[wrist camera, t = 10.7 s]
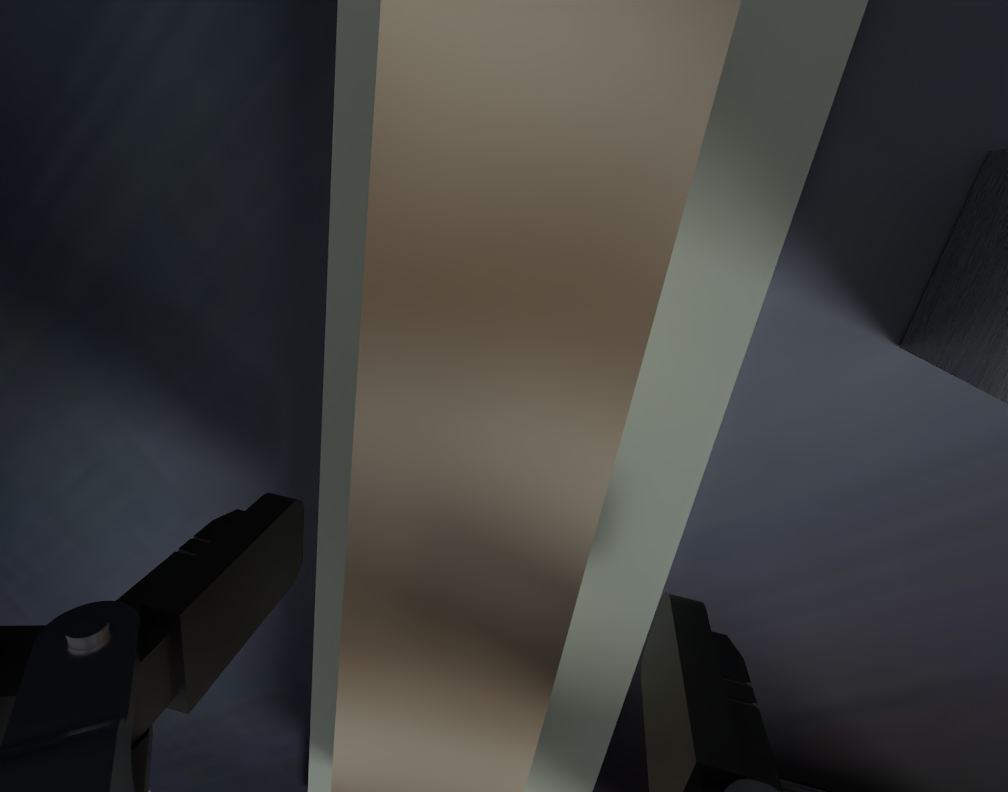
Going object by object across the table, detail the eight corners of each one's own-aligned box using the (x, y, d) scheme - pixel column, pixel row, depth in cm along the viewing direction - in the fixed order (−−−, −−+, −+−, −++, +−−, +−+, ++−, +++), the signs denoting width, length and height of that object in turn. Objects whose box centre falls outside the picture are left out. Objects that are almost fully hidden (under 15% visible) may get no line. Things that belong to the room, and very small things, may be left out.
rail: (473, -12, 9) (389, -144, 6) (702, 20, 9) (768, -99, 5) (380, 786, 18) (321, 941, 14) (498, 822, 17) (469, 992, 14)
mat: (354, -161, 9) (344, -176, 9) (894, -101, 8) (908, -114, 8) (313, 790, 19) (307, 802, 19) (561, 867, 18) (561, 881, 18)
